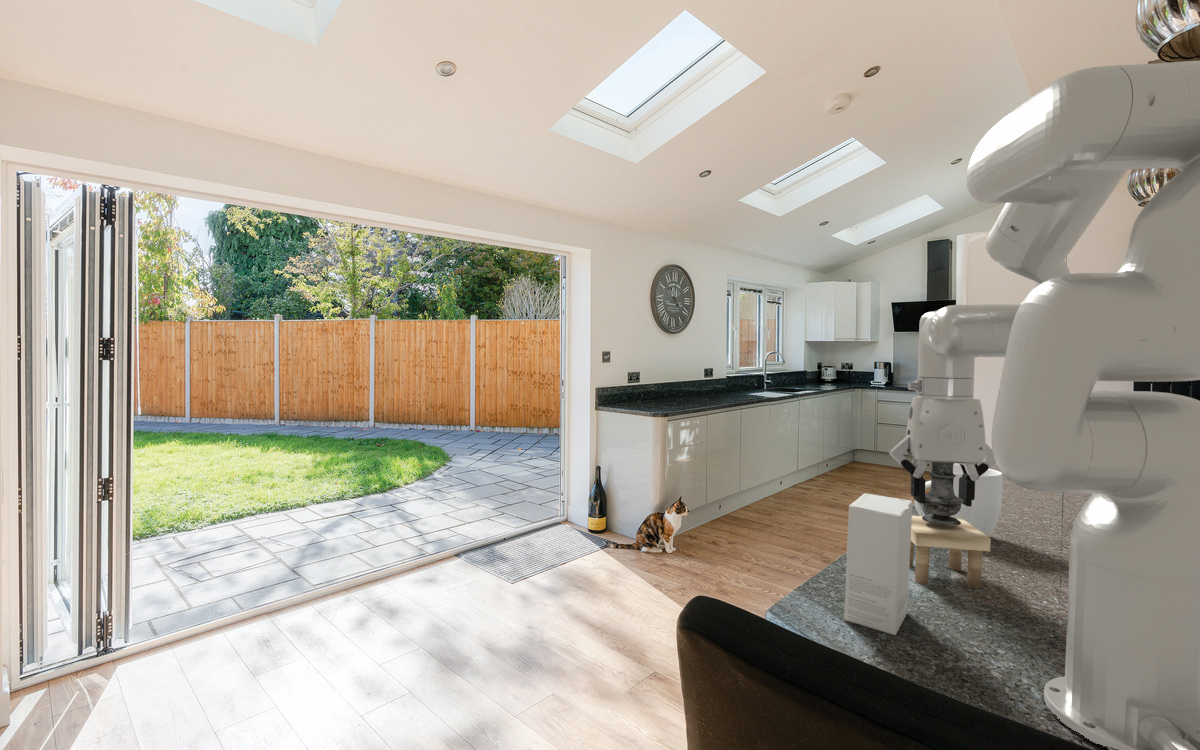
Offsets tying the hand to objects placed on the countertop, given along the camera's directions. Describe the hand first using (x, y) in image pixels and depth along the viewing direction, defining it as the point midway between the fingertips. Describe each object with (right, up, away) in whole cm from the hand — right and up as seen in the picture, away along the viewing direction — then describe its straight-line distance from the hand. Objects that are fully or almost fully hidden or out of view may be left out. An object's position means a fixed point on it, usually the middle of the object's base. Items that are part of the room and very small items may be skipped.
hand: (941, 501), depth 87 cm
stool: (0, -12, +1) cm, 12 cm away
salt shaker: (0, -3, 0) cm, 3 cm away
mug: (+16, -12, +20) cm, 28 cm away
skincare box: (-17, -12, -14) cm, 25 cm away
